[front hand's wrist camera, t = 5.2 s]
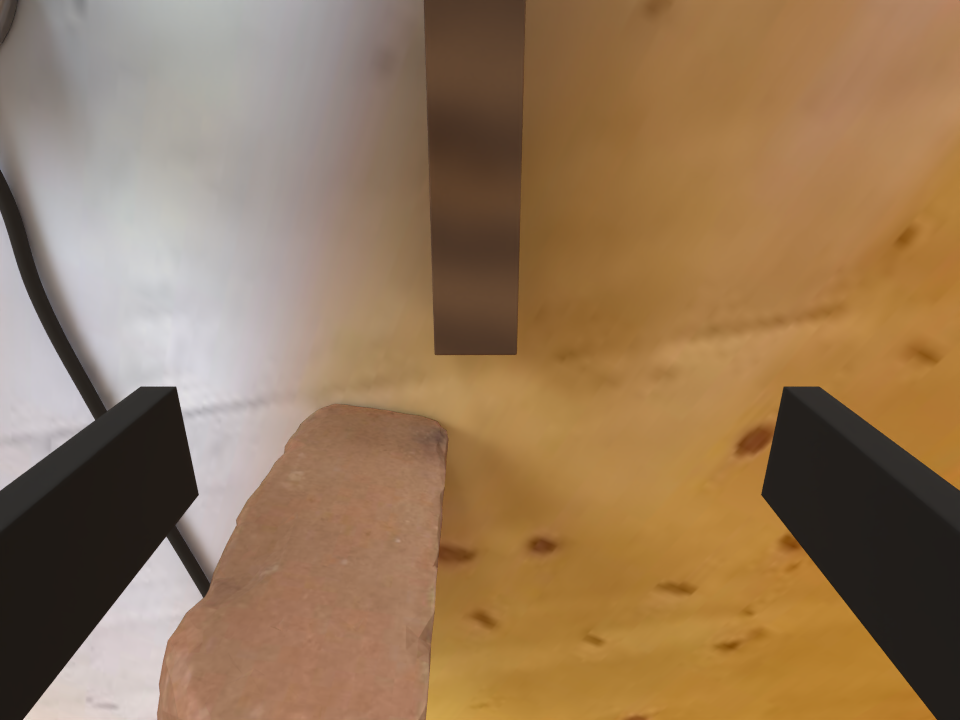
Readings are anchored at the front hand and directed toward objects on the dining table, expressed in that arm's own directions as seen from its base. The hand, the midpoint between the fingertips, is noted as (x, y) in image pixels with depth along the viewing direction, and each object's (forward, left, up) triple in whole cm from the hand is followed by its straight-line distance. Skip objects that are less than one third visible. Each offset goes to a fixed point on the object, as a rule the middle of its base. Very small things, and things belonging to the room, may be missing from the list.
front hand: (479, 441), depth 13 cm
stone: (-23, +10, -29) cm, 38 cm away
